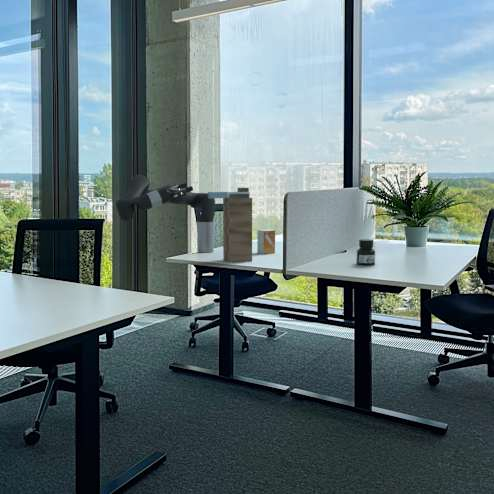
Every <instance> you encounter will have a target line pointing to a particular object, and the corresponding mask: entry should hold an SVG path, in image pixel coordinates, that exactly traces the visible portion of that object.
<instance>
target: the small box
mask: <svg viewBox="0 0 494 494" xmlns="http://www.w3.org/2000/svg"><path fill="white" fill-rule="evenodd" d="M256 238H257V243H256V244H257V245H256V247H257V248H256V249H257V250H256V251H257V252H256V253H257V254H261V255H269V254H276V230H275V229H257V237H256Z"/></svg>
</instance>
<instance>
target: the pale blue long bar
mask: <svg viewBox="0 0 494 494" xmlns="http://www.w3.org/2000/svg"><path fill="white" fill-rule="evenodd" d="M207 193H208V198H214V199H223V198H230V194H249V198H251V197H250V196H251V195H250V194H251V192H250V188H249V187H237V190H236V191H208V192H207Z"/></svg>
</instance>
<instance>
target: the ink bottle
mask: <svg viewBox="0 0 494 494" xmlns="http://www.w3.org/2000/svg"><path fill="white" fill-rule="evenodd" d="M356 264H357V265H361V266H373V265H375V264H376V250H374V239H371V238H361V239H358V249H357V250H356Z"/></svg>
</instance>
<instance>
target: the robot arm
mask: <svg viewBox="0 0 494 494" xmlns="http://www.w3.org/2000/svg"><path fill="white" fill-rule="evenodd" d="M150 185H151V182H150V179H149V178H148V177H147V176H144V175H142V174H136V175H134V176H133V178H132V180H131V182H130V184H129V186H128V188H127V192H126V194H125V195H124V196H123V198H120V199H117V201H116V202H115V207H116V210H117V214H118V216H119V218H120V220H122V221H123V222H129V221H131V220H133V219H134V217H136V212H137V209H138V210H139V211H140V212H144V211H147V210H150V209H154V208H156V207H160V206H162V205H165V204H168V203H169V204H173V205H184V206H185V205H186V206H190V207H193V208H196V209H199V210H201V212H200V214H199V215H198V216H196V217H197V218H196V229H197V230H196V234H197V235H196V237H197V238H196V239H197V241H196V242H197V247H196V249H197V250H196V251H197V252H198V253H212V252H215V251H214V244H215V243H214V241H215V240H214V219H215V214H216V213H215V212H216V198H208V192H193V191H194V188H193V186H192V185H191V186H188V185H187V182H183V183H181V184H173V185H164V186H161V187H158V188H155V189H150Z"/></svg>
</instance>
